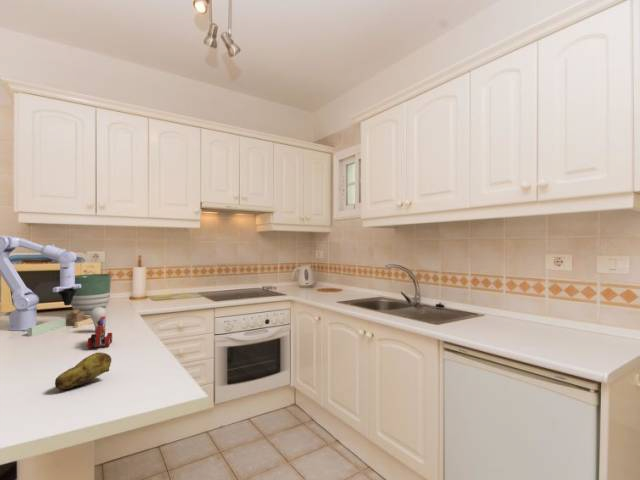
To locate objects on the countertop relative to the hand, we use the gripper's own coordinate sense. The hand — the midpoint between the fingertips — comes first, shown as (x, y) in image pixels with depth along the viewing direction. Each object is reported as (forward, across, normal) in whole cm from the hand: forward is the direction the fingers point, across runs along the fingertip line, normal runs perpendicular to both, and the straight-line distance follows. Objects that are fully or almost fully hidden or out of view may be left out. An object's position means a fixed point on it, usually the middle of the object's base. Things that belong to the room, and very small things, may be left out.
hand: (67, 305), depth 163 cm
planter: (+10, +25, +8) cm, 28 cm away
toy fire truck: (+10, -29, -38) cm, 49 cm away
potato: (+10, -63, -59) cm, 87 cm away
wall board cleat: (+10, -6, -2) cm, 12 cm away
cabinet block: (+10, +2, -2) cm, 10 cm away
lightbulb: (+10, -10, -23) cm, 27 cm away
